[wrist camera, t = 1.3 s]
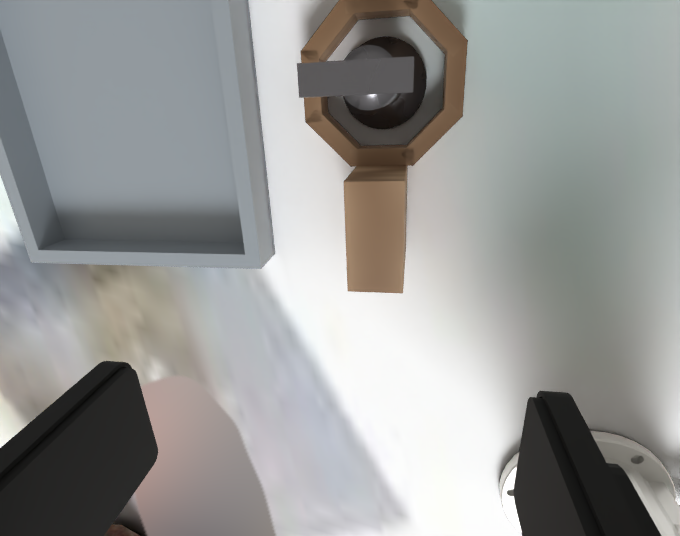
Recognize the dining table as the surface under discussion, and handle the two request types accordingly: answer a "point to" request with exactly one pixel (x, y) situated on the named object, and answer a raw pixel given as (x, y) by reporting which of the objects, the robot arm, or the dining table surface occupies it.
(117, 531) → the candle
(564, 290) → the dining table surface
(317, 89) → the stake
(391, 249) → the ring
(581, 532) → the robot arm
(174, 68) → the tray
